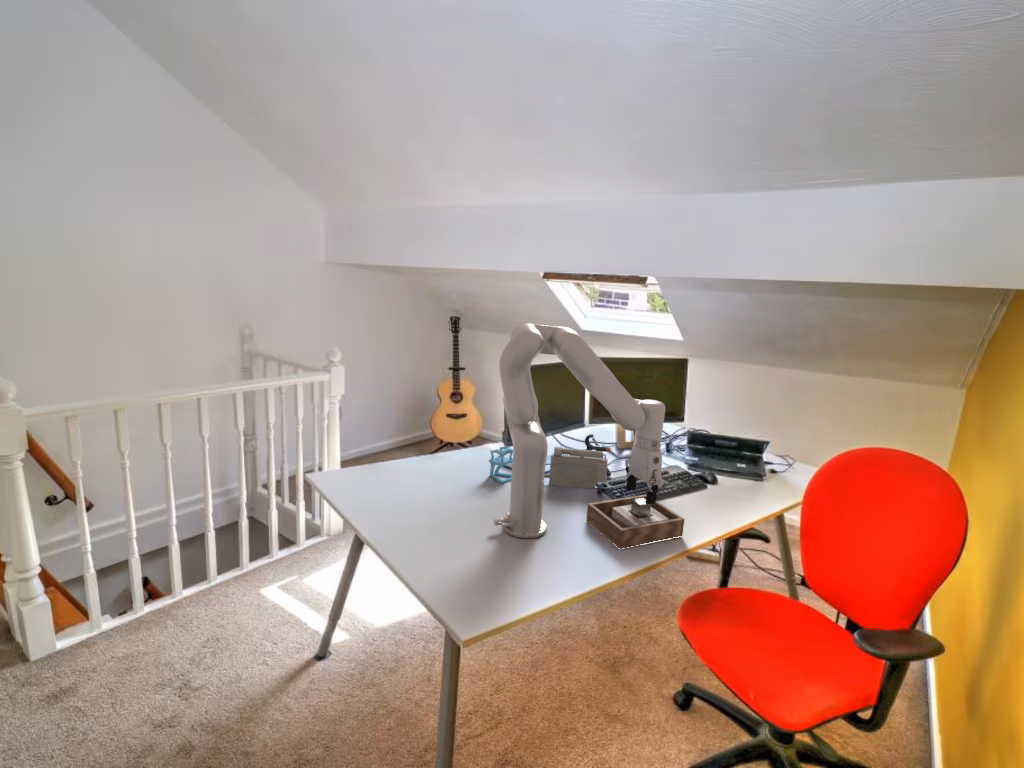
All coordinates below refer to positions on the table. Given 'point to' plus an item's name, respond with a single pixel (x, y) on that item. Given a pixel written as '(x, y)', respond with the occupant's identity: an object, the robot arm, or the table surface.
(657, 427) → the robot arm
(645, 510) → the metal peg
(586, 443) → the hand grip strengthener
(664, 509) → the walnut box
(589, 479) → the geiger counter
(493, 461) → the chair
